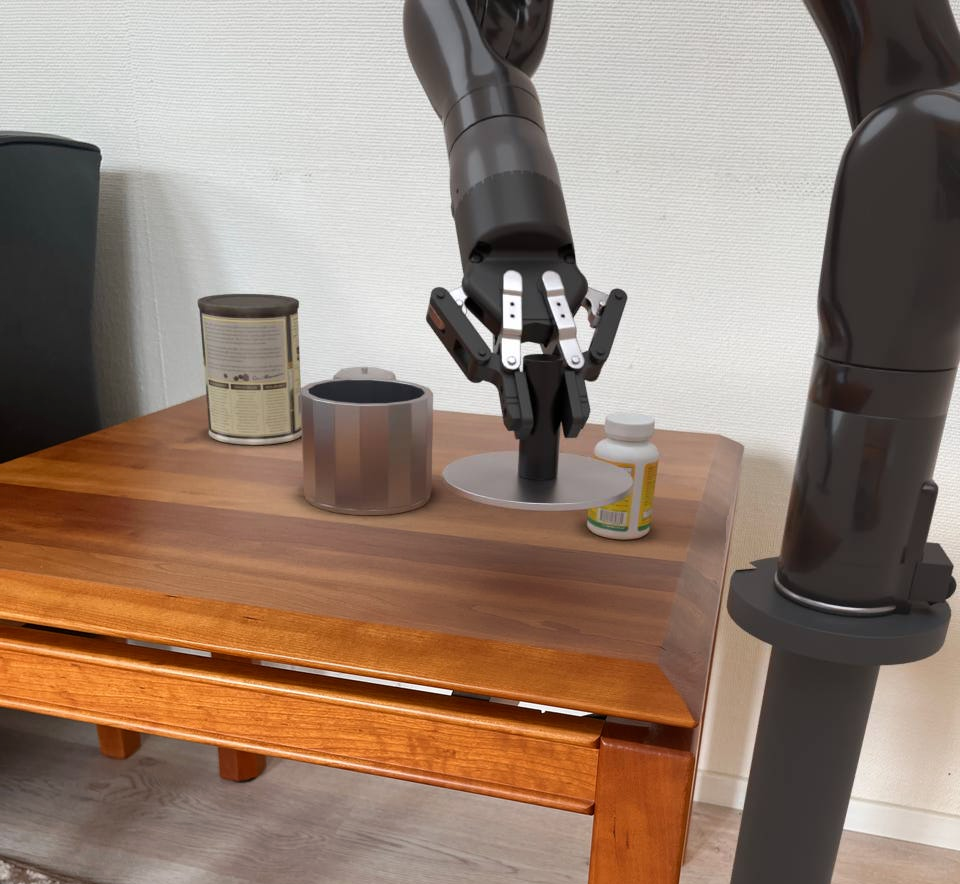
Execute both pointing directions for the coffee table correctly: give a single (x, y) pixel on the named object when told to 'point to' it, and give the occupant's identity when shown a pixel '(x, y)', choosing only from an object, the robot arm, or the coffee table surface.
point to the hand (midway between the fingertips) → (550, 431)
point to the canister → (366, 445)
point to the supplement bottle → (641, 462)
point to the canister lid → (539, 459)
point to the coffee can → (251, 367)
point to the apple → (364, 373)
